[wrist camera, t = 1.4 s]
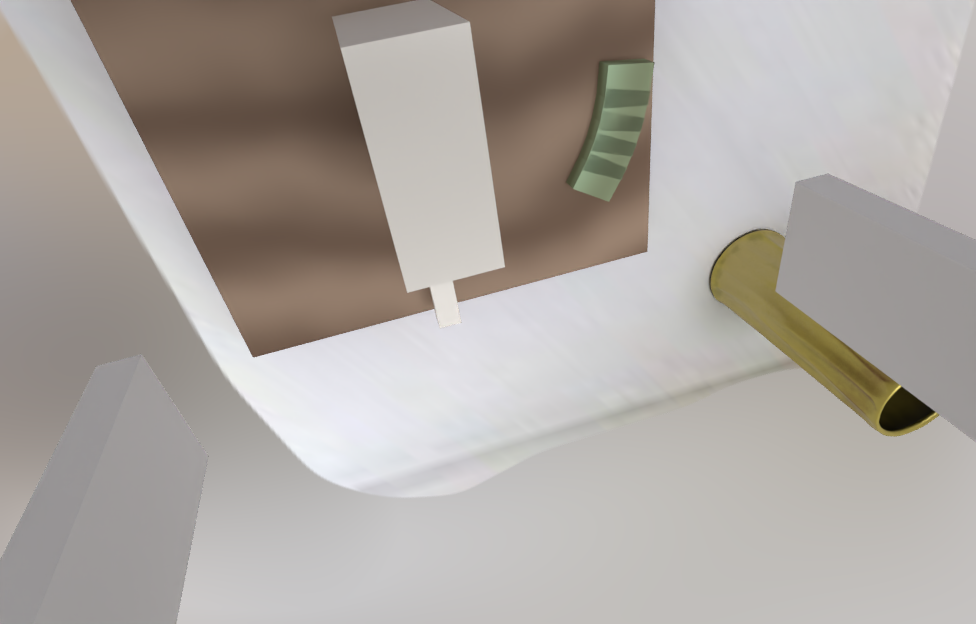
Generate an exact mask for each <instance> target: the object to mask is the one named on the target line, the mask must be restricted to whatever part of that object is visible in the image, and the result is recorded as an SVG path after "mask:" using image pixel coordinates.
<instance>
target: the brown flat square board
mask: <svg viewBox="0 0 976 624" xmlns="http://www.w3.org/2000/svg"><path fill="white" fill-rule="evenodd" d="M410 1H415V0H71V2H72V4H73V6H74V8H75V10H76V12H77V14H78V16H79V17H80V19H81V21H82V23H83V25H84V27H85V29H86V31H87V33H88V35H89V37H90V39H91V41H92V43H93V45H94V47H95V49H96V51H97V53H98V55H99V57H100V59H101V61H102V62H103V64H104V66H105V68H106V70H107V72H108V74H109V76H110V78H111V80H112V82H113V84H114V86H115V88H116V90H117V92H118V94H119V96H120V98H121V100H122V102H123V104H124V106H125V108H126V109H127V111H128V113H129V115H130V117H131V119H132V121H133V123H134V125H135V127H136V129H137V131H138V133H139V135H140V137H141V139H142V141H143V143H144V145H145V147H146V149H147V151H148V153H149V155H150V156H151V158H152V160H153V162H154V164H155V166H156V168H157V170H158V172H159V174H160V176H161V178H162V180H163V182H164V184H165V186H166V188H167V190H168V192H169V194H170V196H171V198H172V200H173V201H174V203H175V205H176V207H177V209H178V211H179V213H180V215H181V217H182V219H183V221H184V223H185V225H186V227H187V229H188V231H189V233H190V235H191V237H192V239H193V241H194V243H195V245H196V247H197V248H198V250H199V252H200V254H201V256H202V258H203V260H204V262H205V264H206V266H207V268H208V270H209V272H210V274H211V276H212V278H213V280H214V282H215V284H216V286H217V288H218V290H219V292H220V293H221V295H222V297H223V299H224V301H225V303H226V305H227V307H228V309H229V311H230V313H231V315H232V317H233V319H234V321H235V323H236V325H237V327H238V329H239V331H240V333H241V335H242V337H243V339H244V340H245V342H246V344H247V346H248V348H249V350H250V352H251V354H252V356H253V357H257V356H261V355H264V354H268V353H272V352H275V351H279V350H283V349H287V348H290V347H294V346H298V345H302V344H305V343H309V342H313V341H316V340H320V339H324V338H328V337H331V336H335V335H339V334H342V333H346V332H350V331H354V330H357V329H361V328H365V327H368V326H372V325H376V324H380V323H383V322H387V321H391V320H394V319H398V318H402V317H406V316H409V315H413V314H417V313H421V312H424V311H428V310H432V309H434V305H433V301H432V297H431V292H430V288H429V287H428V288H424V289H420V290H416V291H412V292H409V293H407V290H406V286H405V282H404V279H403V275H402V272H401V268H400V264H399V261H398V257H397V253H396V250H395V246H394V242H393V239H392V235H391V231H390V228H389V224H388V220H387V217H386V213H385V209H384V206H383V202H382V198H381V195H380V191H379V188H378V184H377V180H376V177H375V173H374V169H373V166H372V162H371V158H370V155H369V151H368V147H367V144H366V140H365V136H364V133H363V129H362V125H361V122H360V118H359V114H358V111H357V107H356V103H355V100H354V96H353V92H352V89H351V85H350V81H349V78H348V74H347V70H346V67H345V63H344V59H343V56H342V52H341V48H340V45H339V41H338V37H337V34H336V30H335V26H334V23H333V19H332V17H333V16H338V15H343V14H348V13H353V12H358V11H364V10H369V9H374V8H379V7H384V6H389V5H394V4H399V3H405V2H410ZM431 1H433V2H435V3H437V4H438V5H440V6H442V7H444V8H446V9H447V10H449V11H451V12H453V13H455V14H457V15H458V16H460V17H462V18H464V19H466V20H467V21H469V22H470V27H471V34H472V41H473V48H474V55H475V61H476V68H477V75H478V82H479V89H480V96H481V103H482V110H483V117H484V124H485V131H486V138H487V145H488V152H489V159H490V166H491V173H492V180H493V187H494V194H495V201H496V208H497V215H498V222H499V229H500V235H501V242H502V249H503V256H504V263H505V267H504V268H500V269H496V270H492V271H488V272H485V273H481V274H477V275H473V276H469V277H466V278H462V279H458V280H454V281H453V285H454V289H455V294H456V299H457V303H458V302H461V301H465V300H469V299H473V298H476V297H480V296H484V295H487V294H491V293H495V292H499V291H502V290H506V289H510V288H513V287H517V286H521V285H525V284H528V283H532V282H536V281H540V280H543V279H547V278H551V277H554V276H558V275H562V274H566V273H569V272H573V271H577V270H580V269H584V268H588V267H592V266H595V265H599V264H603V263H606V262H610V261H614V260H618V259H621V258H625V257H629V256H632V255H636V254H640V253H644V252H647V244H648V212H649V180H650V147H651V115H652V83H653V68H654V62H653V50H654V18H655V0H431Z"/></svg>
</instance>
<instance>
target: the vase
mask: <svg viewBox="0 0 976 624" xmlns="http://www.w3.org/2000/svg"><path fill="white" fill-rule="evenodd" d="M784 242H785V238H784V237H783V236H782V235H780V234H779V233H777V232H774V231H770V230H759V231H755V232H752V233H749V234H747V235H745V236H743V237H741V238H739V239H738V240H736V241H735V242H733V243H732V244H731V245H730V246H729V247H728V248H727V249H726V250H725V251H724V252H723V253H722V255H721V256H720V257H719V259H718V260H717V262H716V264H715V266H714V269H713V272H712V275H711V290H712V293H713V295H714V297H715V298H716V300H718V301H719V302H721V303H723V304H725V305H726V306H727V307H728V308H730V309H731V310H732V311H733V312H735V313H736V314H737V315H738V316H739V317H741V318H742V319H743V320H744V321H746V322H747V323H748V324H749V325H751V326H752V327H753V328H754V329H756V330H757V331H758V332H759V333H761V334H762V335H763V336H764V337H765V338H767V339H768V340H769V341H770V342H771V343H772V344H774V345H775V346H776V347H777V348H778V349H780V350H781V351H782V352H783V353H785V354H786V355H787V356H788V357H790V358H791V359H792V360H793V361H794V362H796V363H797V364H798V365H799V366H800V367H801V368H803V369H804V370H805V371H806V372H807V373H809V374H810V375H811V376H812V377H814V378H815V379H816V380H817V381H818V382H820V383H821V384H822V385H823V386H825V387H826V388H827V389H828V390H829V391H830V392H831V393H833V394H834V395H835V396H836V397H837V398H839V399H840V400H841V401H842V402H844V403H845V404H846V405H847V406H848V407H850V408H851V409H852V410H853V411H855V412H856V413H857V414H858V415H859V416H860V417H862V418H863V419H864V420H865V421H866V422H867V423H868V424H869V425H870V426H871V427H872V428H874V429H875V430H877V431H879V432H880V433H881V434H883V435H886V436H901V435H904V434H907V433H910V432H912V431H914V430H917V429H919V428H921V427H923V426H925V425H926V424H928V423H929V422H931V421H932V420H934V419H935V418H936V417H938V416H939V414H938V413H937V412H935V411H934V410H933V409H931V408H930V407H929V406H927V405H926V404H925V403H923V402H922V401H921V400H919V399H918V398H917V397H915V396H914V395H913V394H911V393H910V392H909V391H907V390H906V389H905V388H903V387H902V386H901V385H899V384H898V383H897V382H895V381H894V380H893V379H891V378H890V377H889V376H887V375H886V374H885V373H883V372H882V371H881V370H879V369H878V368H877V367H875V366H874V365H873V364H871V363H870V362H869V361H867V360H866V359H865V358H863V357H862V356H861V355H859V354H858V353H857V352H855V351H854V350H853V349H851V348H850V347H849V346H847V345H846V344H845V343H843V342H842V341H841V340H839V339H838V338H837V337H835V336H834V335H833V334H831V333H830V332H829V331H827V330H826V329H825V328H823V327H822V326H821V325H820V324H818V323H817V322H816V321H814V320H813V319H812V318H810V317H809V316H808V315H806V314H805V313H804V312H802V311H801V310H800V309H798V308H797V307H796V306H794V305H793V304H792V303H790V302H789V301H788V300H786V299H785V298H784V297H782V296H781V295H780V294H778V293H777V292H776V291H775V290H776V285H777V279H778V274H779V269H780V263H781V258H782V253H783V247H784Z"/></svg>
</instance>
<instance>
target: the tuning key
mask: <svg viewBox="0 0 976 624" xmlns="http://www.w3.org/2000/svg"><path fill="white" fill-rule="evenodd" d="M332 19H333V23H334V26H335V30H336V34H337V37H338V41H339V45H340V48H341V52H342V56H343V59H344V63H345V67H346V70H347V74H348V78H349V81H350V85H351V89H352V92H353V96H354V100H355V103H356V107H357V111H358V114H359V118H360V122H361V125H362V129H363V133H364V136H365V140H366V144H367V147H368V151H369V155H370V158H371V162H372V166H373V169H374V173H375V177H376V180H377V184H378V188H379V191H380V195H381V198H382V202H383V206H384V209H385V213H386V217H387V220H388V224H389V228H390V231H391V235H392V239H393V242H394V246H395V250H396V253H397V257H398V261H399V264H400V268H401V272H402V275H403V279H404V282H405V286H406V290H407V293H409V292H412V291H416V290H420V289H424V288H428V287H429V288H430V292H431V297H432V301H433V305H434V309H435V313H436V317H437V320H438V323H439V326H440V328H444V327H448V326H451V325H455V324H459V323H462V322H461V318H460V313H459V308H458V304H457V299H456V294H455V289H454V285H453V281H454V280H458V279H462V278H466V277H469V276H473V275H477V274H481V273H485V272H488V271H492V270H496V269H500V268H504V267H505V263H504V256H503V249H502V242H501V235H500V229H499V222H498V215H497V208H496V201H495V194H494V187H493V180H492V173H491V166H490V159H489V152H488V145H487V138H486V131H485V124H484V117H483V110H482V103H481V96H480V89H479V82H478V75H477V68H476V61H475V55H474V48H473V41H472V34H471V27H470V22H469V21H467V20H466V19H464V18H462V17H460V16H458V15H457V14H455V13H453V12H451V11H449V10H447V9H446V8H444V7H442V6H440V5H438V4H437V3H435V2H433V1H431V0H415V1H410V2H405V3H399V4H394V5H389V6H384V7H379V8H374V9H369V10H364V11H358V12H353V13H348V14H343V15H338V16H333V17H332Z"/></svg>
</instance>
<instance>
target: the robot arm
mask: <svg viewBox="0 0 976 624" xmlns="http://www.w3.org/2000/svg"><path fill="white" fill-rule="evenodd" d="M775 291H776V292H777V293H778V294H780V295H781V296H782V297H784V298H785V299H786V300H788V301H789V302H790V303H792V304H793V305H794V306H796V307H797V308H798V309H800V310H801V311H802V312H804V313H805V314H806V315H808V316H809V317H810V318H812V319H813V320H814V321H816V322H817V323H818V324H820V325H821V326H822V327H823V328H825V329H826V330H827V331H829V332H830V333H831V334H833V335H834V336H835V337H837V338H838V339H839V340H841V341H842V342H843V343H845V344H846V345H847V346H849V347H850V348H851V349H853V350H854V351H855V352H857V353H858V354H859V355H861V356H862V357H863V358H865V359H866V360H867V361H869V362H870V363H871V364H873V365H874V366H875V367H877V368H878V369H879V370H881V371H882V372H883V373H885V374H886V375H887V376H889V377H890V378H891V379H893V380H894V381H895V382H897V383H898V384H899V385H901V386H902V387H903V388H905V389H906V390H907V391H909V392H910V393H911V394H913V395H914V396H915V397H917V398H918V399H919V400H921V401H922V402H923V403H925V404H926V405H927V406H929V407H930V408H931V409H933V410H934V411H935V412H937V413H938V414H939V415H941V416H942V417H943V418H944V419H946V420H947V421H948V422H950V423H951V424H952V425H954V426H955V427H957V428H958V429H959V430H960V431H962V432H963V433H964V434H966V435H967V436H969V437H970V438H971V439H973V440H974V441H975V442H976V240H975V239H973V238H970V237H968V236H966V235H964V234H962V233H959V232H957V231H955V230H953V229H950V228H948V227H946V226H944V225H941V224H939V223H937V222H935V221H933V220H930V219H928V218H926V217H924V216H922V215H919V214H917V213H915V212H913V211H910V210H908V209H906V208H904V207H901V206H899V205H897V204H895V203H893V202H890V201H888V200H886V199H884V198H881V197H879V196H877V195H875V194H873V193H870V192H868V191H866V190H864V189H861V188H859V187H857V186H855V185H853V184H850V183H848V182H846V181H844V180H841V179H839V178H837V177H835V176H832V175H830V174H824V175H820V176H816V177H813V178H809V179H805V180H801V181H797V182H796V183H795V188H794V194H793V199H792V204H791V210H790V215H789V220H788V226H787V231H786V236H785V242H784V247H783V253H782V258H781V263H780V269H779V274H778V279H777V285H776V290H775ZM207 461H208V454H207V453H206V451H205V450H204V448H203V447H202V445H201V444H200V442H199V441H198V439H197V438H196V436H195V435H194V433H193V432H192V430H191V429H190V427H189V426H188V424H187V422H186V421H185V419H184V418H183V416H182V415H181V413H180V412H179V410H178V409H177V407H176V406H175V404H174V403H173V401H172V400H171V398H170V396H169V395H168V393H167V392H166V390H165V389H164V387H163V386H162V384H161V383H160V381H159V380H158V378H157V377H156V375H155V374H154V372H153V371H152V369H151V368H150V366H149V364H148V363H147V361H146V360H145V358H144V357H143V355H142V354H141V355H137V356H133V357H129V358H125V359H122V360H118V361H115V362H110V363H107V364H103V365H99V366H96V368H95V370H94V372H93V374H92V376H91V378H90V380H89V382H88V384H87V386H86V388H85V390H84V393H83V394H82V396H81V398H80V400H79V403H78V404H77V406H76V408H75V410H74V413H73V415H72V416H71V419H70V420H69V422H68V425H67V427H66V429H65V431H64V433H63V435H62V437H61V439H60V441H59V443H58V445H57V447H56V449H55V451H54V453H53V455H52V457H51V459H50V461H49V463H48V465H47V467H46V469H45V471H44V473H43V475H42V477H41V479H40V481H39V483H38V485H37V487H36V489H35V491H34V493H33V495H32V497H31V499H30V501H29V503H28V505H27V507H26V509H25V511H24V513H23V515H22V517H21V519H20V521H19V523H18V525H17V527H16V529H15V531H14V533H13V535H12V537H11V539H10V541H9V543H8V545H7V547H6V550H5V551H4V554H3V555H2V557H1V559H0V624H176V621H177V616H178V612H179V606H180V601H181V596H182V591H183V585H184V580H185V575H186V570H187V565H188V560H189V555H190V550H191V544H192V539H193V534H194V529H195V524H196V518H197V513H198V508H199V502H200V498H201V493H202V487H203V482H204V477H205V471H206V466H207Z"/></svg>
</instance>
